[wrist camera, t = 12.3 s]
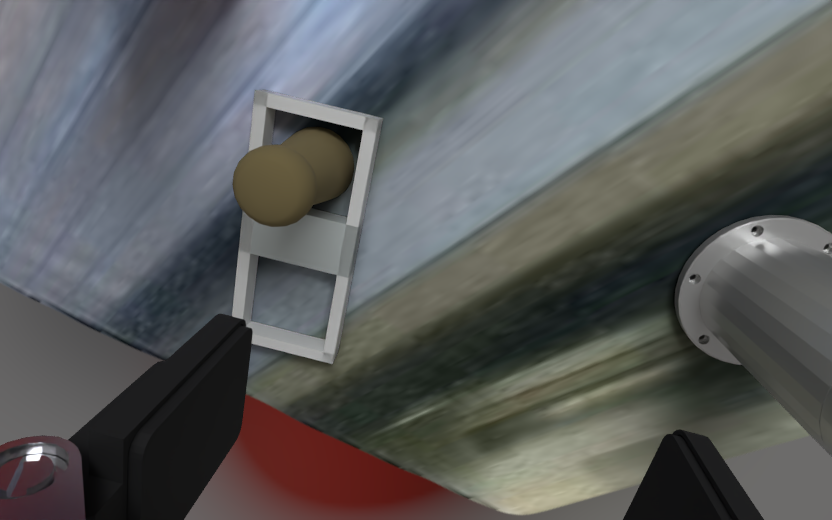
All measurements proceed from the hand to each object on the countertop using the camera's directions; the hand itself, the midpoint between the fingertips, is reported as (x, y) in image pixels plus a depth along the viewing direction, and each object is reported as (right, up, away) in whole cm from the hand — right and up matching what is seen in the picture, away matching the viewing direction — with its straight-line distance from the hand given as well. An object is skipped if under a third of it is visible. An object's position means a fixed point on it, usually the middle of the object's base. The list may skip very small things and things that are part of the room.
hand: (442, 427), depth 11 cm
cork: (-9, +12, +29) cm, 33 cm away
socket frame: (-10, +6, +31) cm, 33 cm away
